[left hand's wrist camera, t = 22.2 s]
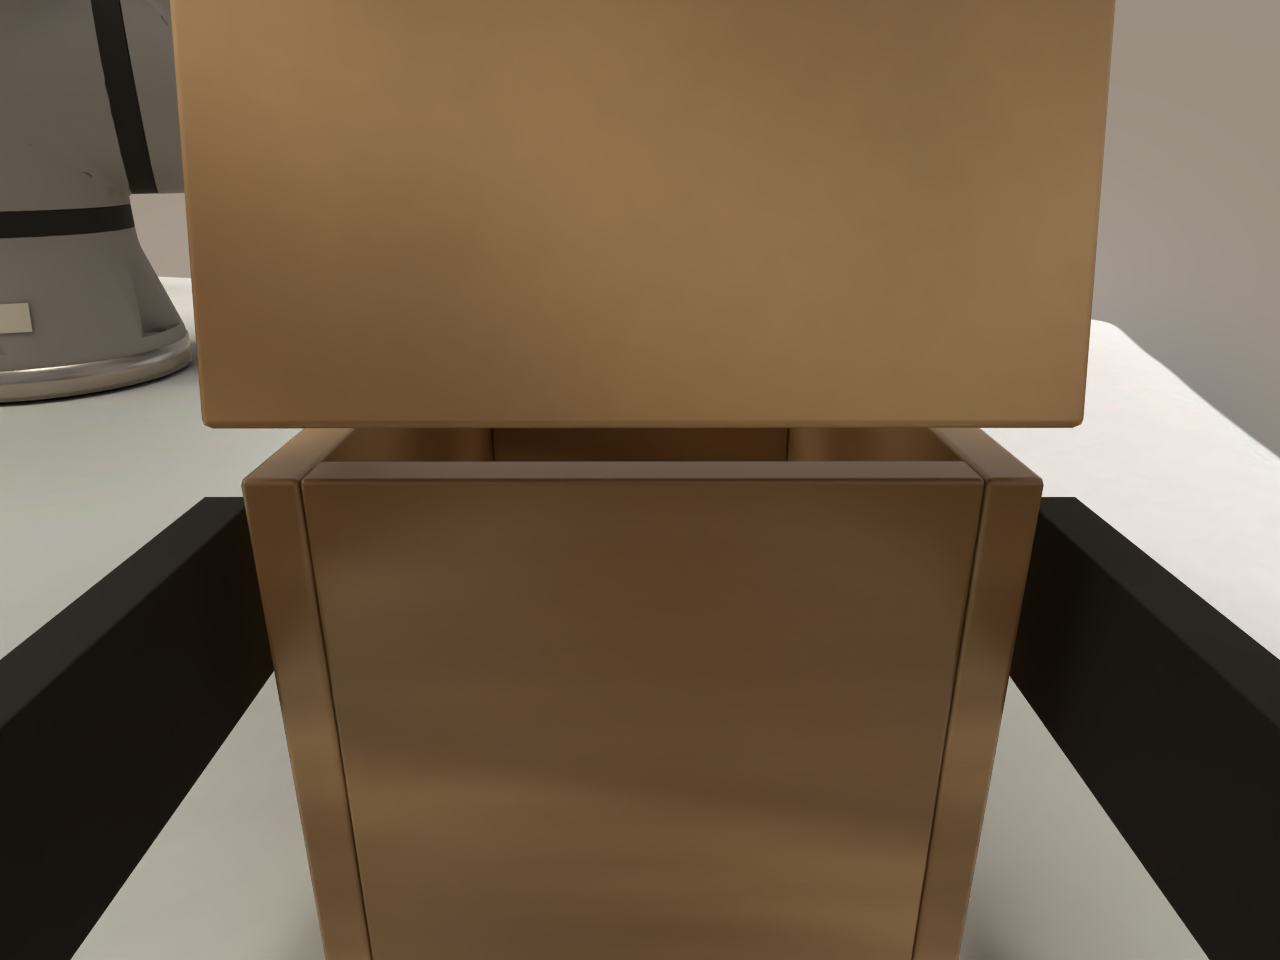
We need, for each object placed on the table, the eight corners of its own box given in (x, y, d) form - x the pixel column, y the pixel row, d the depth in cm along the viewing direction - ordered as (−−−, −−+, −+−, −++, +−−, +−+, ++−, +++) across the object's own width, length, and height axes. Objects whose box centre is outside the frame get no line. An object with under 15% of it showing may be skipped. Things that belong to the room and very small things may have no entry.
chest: (484, 615, 26) (460, 296, 22) (796, 615, 26) (820, 296, 22) (340, 1051, 13) (237, 480, 10) (943, 1050, 13) (1047, 480, 10)
